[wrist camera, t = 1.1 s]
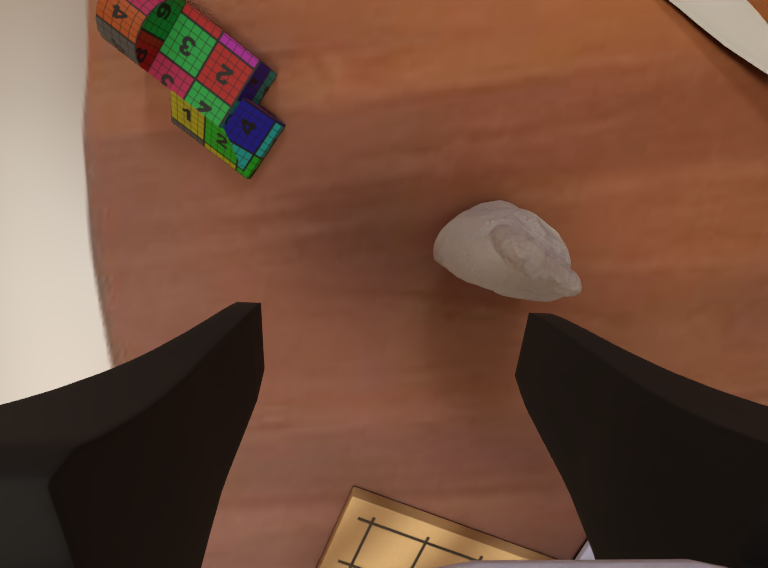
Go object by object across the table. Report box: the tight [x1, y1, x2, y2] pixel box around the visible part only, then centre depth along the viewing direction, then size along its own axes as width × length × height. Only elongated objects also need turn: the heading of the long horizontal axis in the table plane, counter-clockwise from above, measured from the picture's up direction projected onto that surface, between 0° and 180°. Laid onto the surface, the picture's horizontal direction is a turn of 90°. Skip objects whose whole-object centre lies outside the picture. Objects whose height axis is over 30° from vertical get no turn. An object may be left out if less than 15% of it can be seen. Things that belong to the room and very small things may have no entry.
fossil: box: [433, 200, 582, 302], centre depth 20 cm, size 6×4×10 cm, turn 84°
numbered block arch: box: [96, 0, 285, 179], centre depth 21 cm, size 8×5×4 cm
